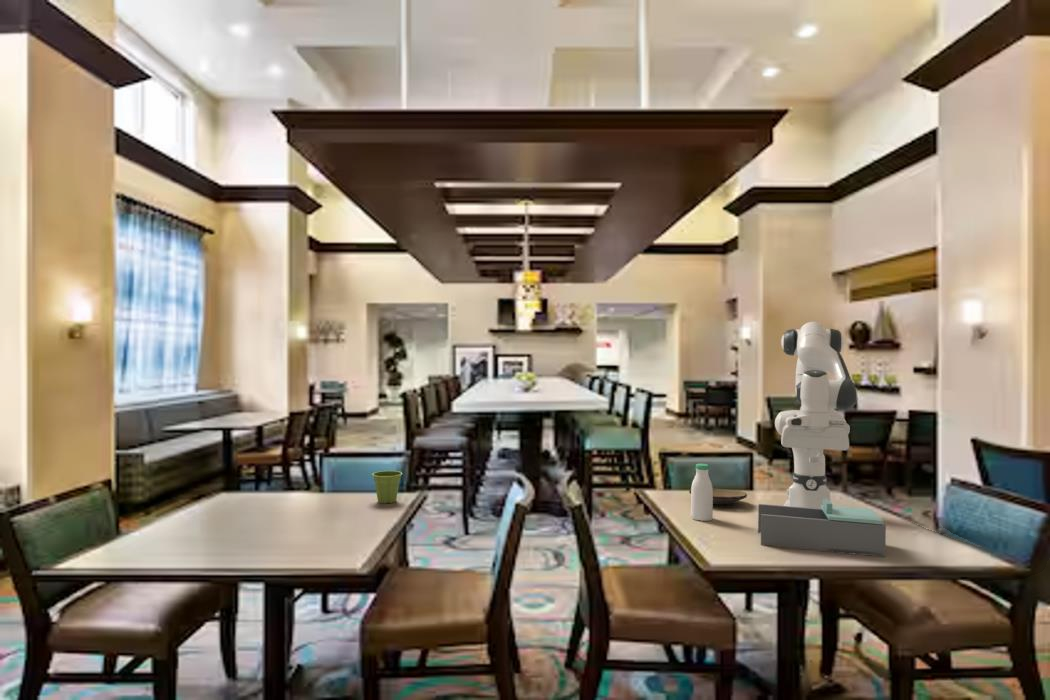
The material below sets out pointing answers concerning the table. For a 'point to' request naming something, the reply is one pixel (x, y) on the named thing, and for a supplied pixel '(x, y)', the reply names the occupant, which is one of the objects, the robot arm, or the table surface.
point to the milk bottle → (702, 494)
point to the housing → (818, 531)
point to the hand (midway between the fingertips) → (814, 462)
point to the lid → (850, 513)
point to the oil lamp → (726, 496)
